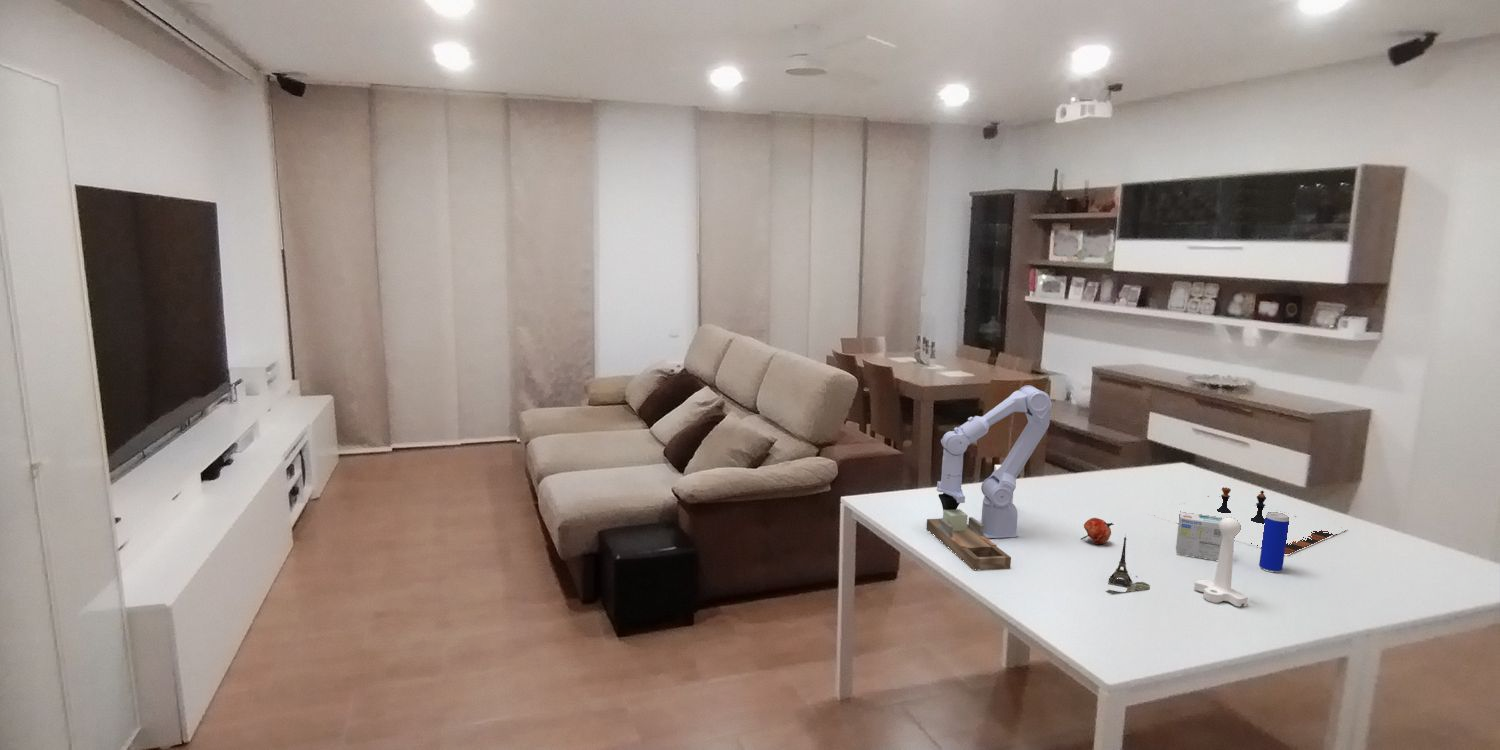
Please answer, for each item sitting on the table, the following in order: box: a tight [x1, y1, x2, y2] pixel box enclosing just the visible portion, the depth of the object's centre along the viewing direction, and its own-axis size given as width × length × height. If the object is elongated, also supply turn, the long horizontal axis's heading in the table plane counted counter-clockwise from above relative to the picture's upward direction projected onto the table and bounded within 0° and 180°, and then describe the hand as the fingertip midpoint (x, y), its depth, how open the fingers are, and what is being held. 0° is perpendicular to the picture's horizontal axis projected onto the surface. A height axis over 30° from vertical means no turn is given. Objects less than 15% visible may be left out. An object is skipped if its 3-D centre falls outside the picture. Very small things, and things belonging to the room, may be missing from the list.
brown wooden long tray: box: [926, 516, 1012, 571], centre depth 222 cm, size 10×30×6 cm, turn 11°
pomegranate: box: [1080, 517, 1114, 545], centre depth 229 cm, size 7×7×10 cm
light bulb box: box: [1175, 511, 1223, 561], centre depth 221 cm, size 11×7×11 cm, turn 65°
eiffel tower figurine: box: [1105, 533, 1151, 595], centre depth 200 cm, size 15×10×13 cm
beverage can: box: [1258, 512, 1289, 573], centre depth 212 cm, size 5×5×15 cm
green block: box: [942, 508, 969, 531], centre depth 229 cm, size 5×5×4 cm
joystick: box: [1193, 517, 1248, 607], centre depth 192 cm, size 11×8×20 cm
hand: (948, 519), depth 233 cm, fingers closed
